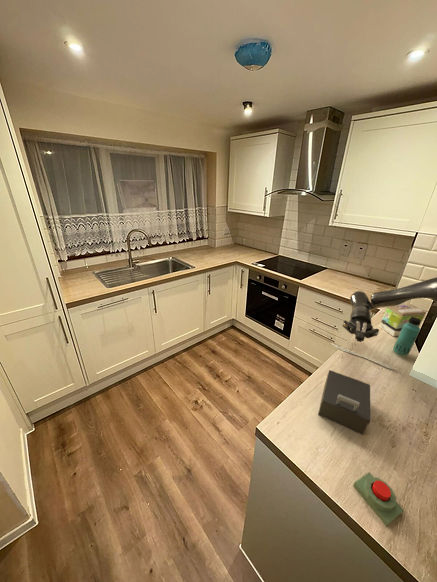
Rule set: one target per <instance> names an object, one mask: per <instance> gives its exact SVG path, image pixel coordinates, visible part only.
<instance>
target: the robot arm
mask: <svg viewBox="0 0 437 582" xmlns="http://www.w3.org/2000/svg"><path fill="white" fill-rule="evenodd" d="M414 299H416V300H417V299H431V300H432V301H433V302H434V303H436V304H437V276H436V277H432V278H429V279H426V280H422V281H419V282H417V283H413V284H410V285H406V286H402V287H399V288H394V289H388V290H381V291H375V292H373V293H372V294H370V298H369V297H368V295H367V293H366V292H364V291H362V290H358V291H357V290H356V291H355V292H353V293H352V294H351V295H350V298H349V301H350V305H351V313H350V317H349V321H348V320H343V323H342V327H343V328H344V329H345V330H346V331H347V332H348V333H349V334H351V335H354V339H355V340H356V342H359V343H362V342H364V341H365V338H366V339H370V338H373V337H377V336H378V335H379V333H380V329H379V328H374V326H373V325H372V314H371V311H374V310H377V309H380V308H387V307H390V306H396V305H399V304H405V303H406V302H407V301H410V300H414Z"/></svg>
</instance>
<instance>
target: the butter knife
mask: <svg viewBox="0 0 437 582" xmlns="http://www.w3.org/2000/svg"><path fill="white" fill-rule="evenodd" d="M330 345H332V346H333V347H335V348H336V349H338V350H340V351H342V352H345V353H348V354H351V355H353V356H358V357H360V358H363V359H366V360H368V361H371V362H373V363H375V364H378V365H380V366H382V367H384V368H386V369H388V370H392V371H393V370H395V368H394V366H392V365H389V364H387V363H385V362H383V361H379V360H377V359H373V358H370V357H369V356H368V357H367V356H365V355H362V354H361V353H358V352H355V351H353V350H350V349H348V348H345V347H343V346H340V345H339V344H338V345H337V344H336V343H333V342H330ZM341 347H342V348H341ZM340 348H341V349H340Z"/></svg>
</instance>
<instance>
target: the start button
mask: <svg viewBox="0 0 437 582" xmlns="http://www.w3.org/2000/svg"><path fill="white" fill-rule="evenodd" d="M382 481H383V480H382ZM382 481H375V482H374V484H373V486H372V490H373V493H374V494H375V496H376V497H377V498H378V499H380V500H382V501H387V500H388V499H389V498H390V496H391V491H390V489H389V487H390V486H389V485H388V486H389V487H388V486H387V485H386V484H385V483H383V482H382Z"/></svg>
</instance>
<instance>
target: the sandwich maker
mask: <svg viewBox="0 0 437 582" xmlns="http://www.w3.org/2000/svg"><path fill="white" fill-rule="evenodd" d="M327 377H328V375H327ZM327 377H326V380H325V383H324V386H323V391H322V395H321V400H320V405H319V410H318V413H317V415H318V416H319V417H322V418H324V419H326V420H329V421H331V422H333V423H334V424H338V425H340V426H342V427H343V428H346V429H348V430H351V431H353V432H355V433H358V434H359V435H362V436H364V434H365V431H366V429H367V427H368V425H369V424H368V423H365V422H363V421H361V420H358V419H356V418H354V417H351V416H349V415H347V414H345V413H342V412H340V411H338V410H335V409H333V408H331V407H328V406H326V405H324V404H322V401H323V396H324V391H325V387H326V382H327Z"/></svg>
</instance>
